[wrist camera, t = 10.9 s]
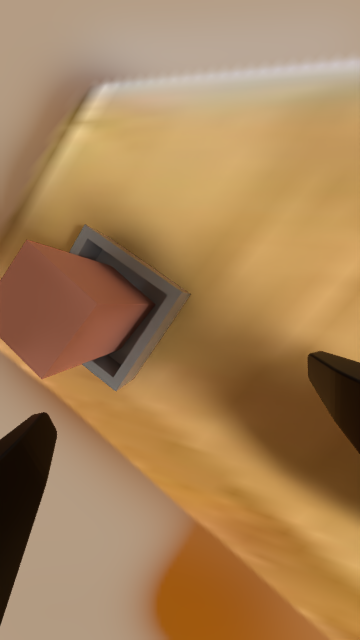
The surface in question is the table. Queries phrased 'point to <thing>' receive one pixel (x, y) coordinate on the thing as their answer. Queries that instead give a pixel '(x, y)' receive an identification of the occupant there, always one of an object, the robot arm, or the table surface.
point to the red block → (66, 308)
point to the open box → (144, 339)
